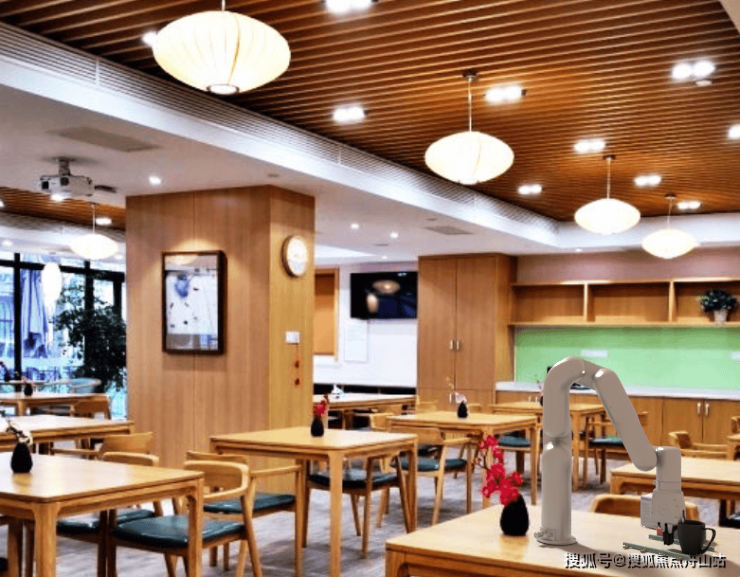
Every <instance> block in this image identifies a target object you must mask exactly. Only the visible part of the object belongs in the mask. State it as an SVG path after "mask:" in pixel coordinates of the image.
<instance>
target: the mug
mask: <svg viewBox="0 0 740 577" xmlns="http://www.w3.org/2000/svg"><path fill="white" fill-rule="evenodd" d="M684 523H685V524H682V523H680V522H678V525H677V532H678V539H679V544H680V545H679V544H678V545H679V547H680V549H681V554H684V555H689V556H690V557H691V556H694V557H697V556H698V557H699V556H701V555H704V554H705V553H707V552H708V548H709V547H710V546H711V545H712V544H713V542H714V541H715V538H716V536H717V531H716V529H715V528H712V527H706V522H704V521H701V520H695V519H686V520H685V522H684ZM705 530H706V531H708V530H709V531H711V533H712V534H711V538H710V540H709V542H708V544H707V546H706V548H705V549H702V548H703V545H705V543H704V541H705Z"/></svg>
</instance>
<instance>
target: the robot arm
mask: <svg viewBox="0 0 740 577" xmlns="http://www.w3.org/2000/svg"><path fill="white" fill-rule="evenodd" d="M545 375H546V376H545V377H544V380H543V386H542V387H543V390H542V392H543V393H542V396H543V397H542V419H541V426H542V452H541V461H540V464H541V465H540V466H541V526H540V528H539V529H540V530H539V531H535V532H534V533H533V538H535V539H536V541H538V542H540V543H543V544H547V545H552V546H553V545H554V546H555V545H556V546H567V545H573V544H575V543H576V542H577V538H576V536H574V535H572V483H573V482H572V478H573V477H572V472H573V471H572V470H573V469H572V468H573V442H572V440H573V439H572V438H573V435H572V433H573V432H572V429H573V428H572V426H573V425H572V424H573V423H572V422H573V421H572V417H571V414H570V411H571V410H570V401H571V400H570V397H571V396H570V390H571V387H572V386H573V384H577V385H579V386H582V387H584V388H587V389H590V390H592V391H595V393H596V394H597V395H596V396H597V397H598V399H599V401H600V403H601V405H602V406H603V409H604V410H605V413H606V414H607V418H609V421H610V423H611V425H612V426H613V429H614V430H615V431H616V433H617V435H618V436H619V438H620V439H621V440H620V441H621V442H622V444H623V446H624V448H625V450H626V452H627V454H628V457H629V458H630V460H631V461H632V464H633V466H634V467H635V468H636V469H637V470H639V471H641V472H650V471H652V470H654V469H656V470H655V473H656V474H655V476H656V477H655V479H653V480H652V485H654V486H655V488H654V489H653V490H652V493H653V494H652V500H651V510H650V517H651V519H652V522H653V523H654V524H657V525H658V526H659V527H660V528H661V531H662V532H663V541H662V542H663V545H664V546H672V545H674V532H675V531H676V530H677V525H678V522H680V523H682V524H685V523H684V522H685V520H687V519H686V518H687V517H686V516H687V514H686V513H687V512H686V510H687V508H686V502H685V500H686V499H685V496H684V491H682V452H681V449H680V448H679V447H677V446H671V445H662V446H657V445H652V444H651V442H650V439H648V436H647V434H646V433H645V430H644V428H643V426H642V424H641V422H640V419H639V416H638V413H637V412H636V411H637V410H636V409H635V407H634V405H633V403H632V401H631V399H630V397H629V395H628V393H627V391H626V390H625V387H624V385H623V383H622V381H621V380H620V377H619V376H618V374H617V373H616V372H615V371H614V370H613V369H610V368H607V367H604V366H601V365H599V364H597V363H595V362H591V361H590V360H586V359H584V358H581V357H578V356H575V355H569V356H567V357H564V358H563V359H562V360H560V361H558V362H556V363H555V364H554V365H553V366H552V367H551V368H550V369H549V370H548V372H547V374H545ZM668 524H669V525H668Z"/></svg>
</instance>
